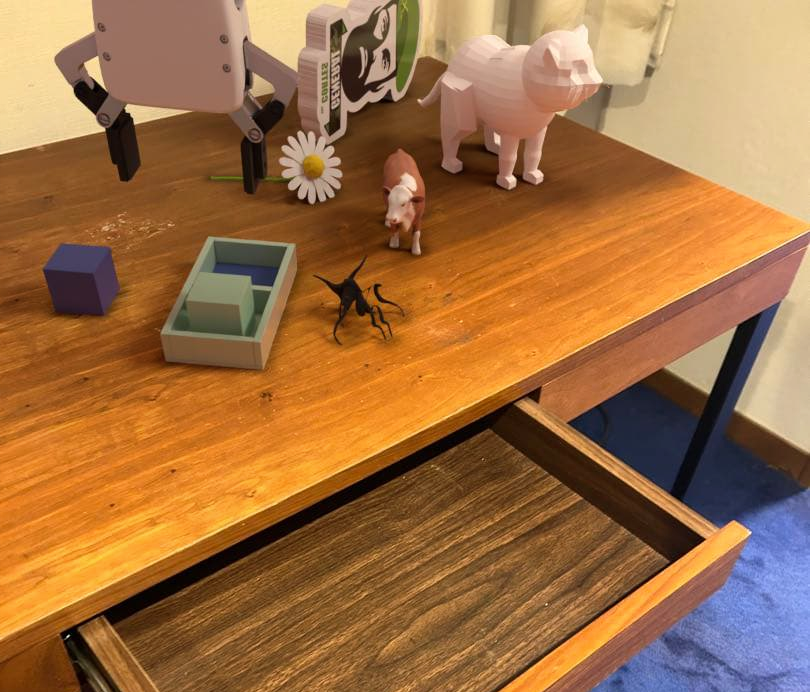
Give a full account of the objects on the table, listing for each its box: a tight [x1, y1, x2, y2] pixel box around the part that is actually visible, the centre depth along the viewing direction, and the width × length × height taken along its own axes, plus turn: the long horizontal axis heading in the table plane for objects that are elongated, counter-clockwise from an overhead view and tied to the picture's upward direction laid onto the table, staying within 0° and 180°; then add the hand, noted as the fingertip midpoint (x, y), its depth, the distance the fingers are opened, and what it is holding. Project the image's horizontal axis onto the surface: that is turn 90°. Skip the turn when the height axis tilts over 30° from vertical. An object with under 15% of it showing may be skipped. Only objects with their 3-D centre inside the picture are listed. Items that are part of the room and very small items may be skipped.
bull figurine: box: [381, 148, 426, 256], centre depth 87 cm, size 4×13×8 cm, turn 0°
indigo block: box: [42, 242, 121, 317], centre depth 78 cm, size 5×5×5 cm
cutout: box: [296, 0, 424, 146], centre depth 106 cm, size 15×3×25 cm
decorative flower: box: [210, 130, 343, 205], centre depth 95 cm, size 8×6×15 cm
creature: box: [312, 253, 405, 346], centre depth 77 cm, size 8×5×8 cm
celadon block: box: [186, 272, 256, 337], centre depth 75 cm, size 5×5×5 cm
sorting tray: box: [159, 236, 298, 371], centre depth 79 cm, size 9×16×3 cm, turn 175°
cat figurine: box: [416, 23, 609, 191], centre depth 95 cm, size 25×10×17 cm, turn 47°
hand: (192, 180), depth 67 cm, fingers open, 9 cm apart
